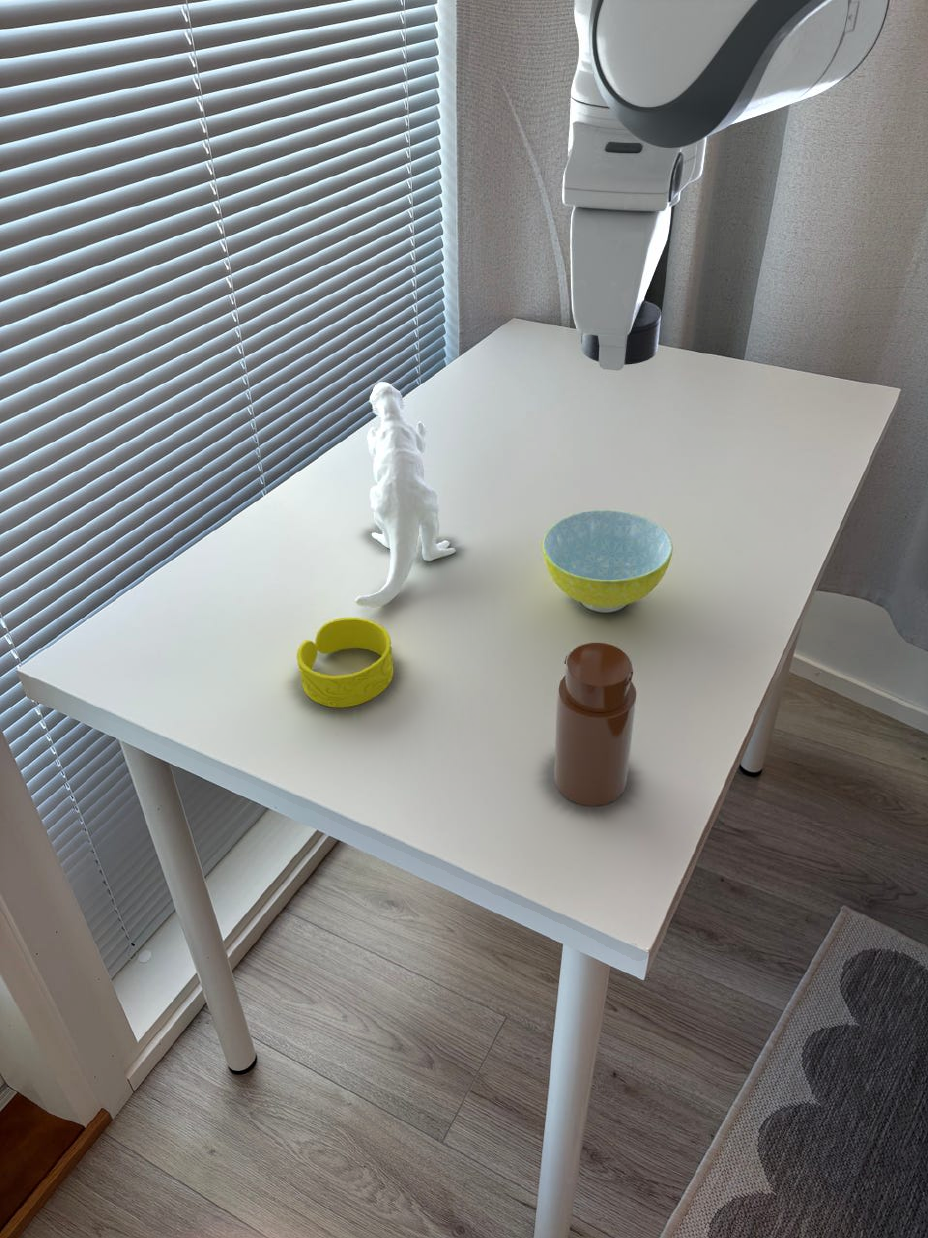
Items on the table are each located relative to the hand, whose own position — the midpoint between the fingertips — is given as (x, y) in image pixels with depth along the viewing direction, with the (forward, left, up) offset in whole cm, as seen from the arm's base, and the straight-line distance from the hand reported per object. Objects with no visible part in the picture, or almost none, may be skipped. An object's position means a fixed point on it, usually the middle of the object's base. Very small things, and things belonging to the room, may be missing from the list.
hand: (620, 346), depth 71 cm
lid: (0, 0, +2) cm, 2 cm away
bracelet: (+19, +14, -25) cm, 35 cm away
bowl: (0, -2, -25) cm, 25 cm away
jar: (-3, +20, -25) cm, 32 cm away
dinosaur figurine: (+20, -3, -25) cm, 32 cm away
